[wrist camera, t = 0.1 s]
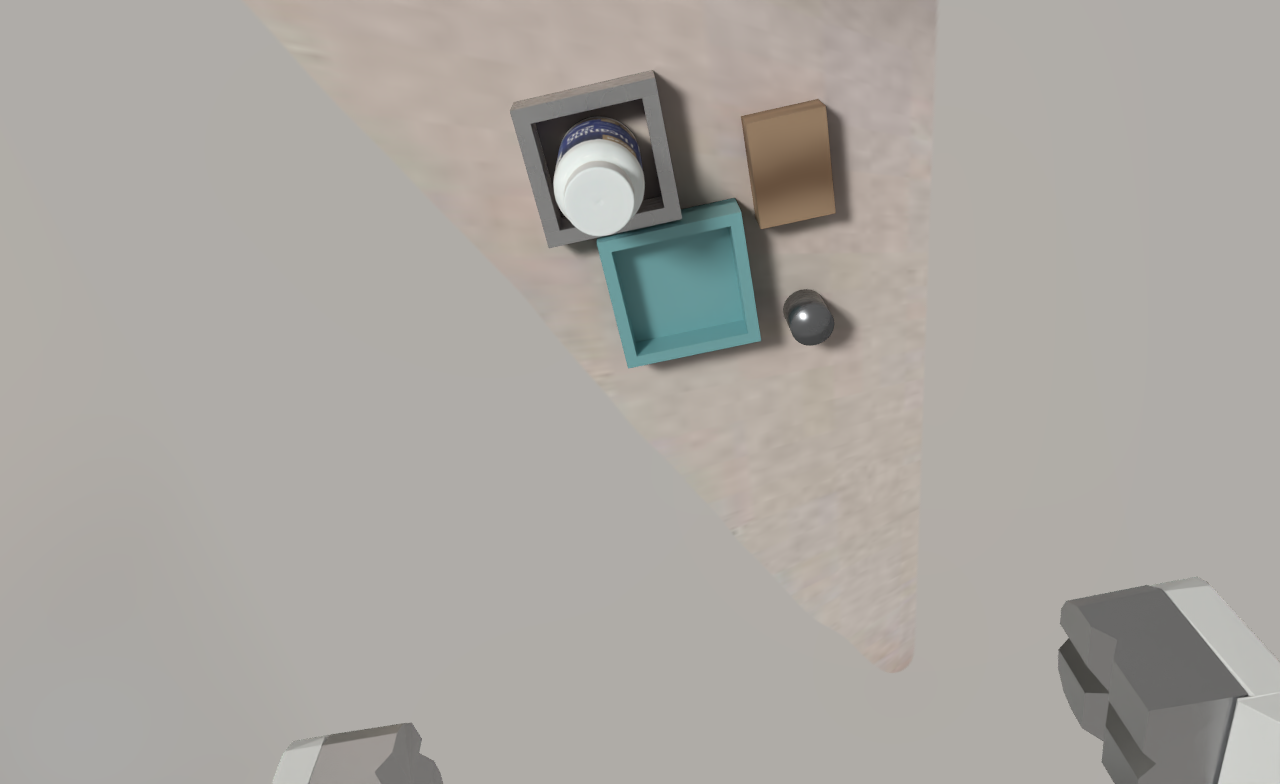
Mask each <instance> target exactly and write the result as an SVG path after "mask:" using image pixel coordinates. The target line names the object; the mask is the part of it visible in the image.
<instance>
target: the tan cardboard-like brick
mask: <svg viewBox="0 0 1280 784" xmlns="http://www.w3.org/2000/svg"><path fill="white" fill-rule="evenodd" d="M741 120H742V127H743V134H744V141H745V148H746V154H747V161H748V168H749V175H750V182H751V189H752V196H753V203H754V210H755V217H756V220H757V222H758V224H759V226H760V228H761V229H765V228H769V227H774V226H779V225H783V224H788V223H793V222H797V221H802V220H807V219H811V218H816V217H820V216H825V215H830V214H834V213H836V212H835V201H834V190H833V179H832V168H831V157H830V146H829V135H828V124H827V113H826V106H825V105H824V104H823V103H822V102H821V101H819V100H818V99H816V100H812V101H807V102H803V103H798V104H794V105H789V106H785V107H780V108H776V109H771V110H767V111H763V112H758V113H754V114H749V115H745V116H741Z"/></svg>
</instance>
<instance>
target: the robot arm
mask: <svg viewBox="0 0 1280 784" xmlns="http://www.w3.org/2000/svg"><path fill="white" fill-rule="evenodd" d="M1060 624H1061V626H1062V627H1063V629H1064V630H1065V632H1066V634H1067V635H1068V637H1069V638H1068V640H1067V641H1066V642H1065V643H1064V644H1063V645H1062V646H1061V647H1060V649H1059V655H1058V658H1059V659H1058V669H1059V674H1060V678H1061V682H1062V686H1063V691H1064V693H1065V696H1066V698H1067V700H1068V703H1069V705H1070V707H1071V709H1072V711H1073V713H1074V715H1075V717H1076V718H1077V720H1078V722H1079V724H1080V725H1081V727H1082V728H1083V729H1084V730H1086V731H1088V732H1089V733H1091V734H1093V735H1094V736H1096V737H1097V738H1099V739H1101V740H1102V741H1104V744H1103V755H1102V763H1103V765H1104V766H1105V768H1106V770H1107V771H1108V773H1109V775H1110V776H1111V778H1112V780H1113V782H1114V783H1115V784H1280V661H1279V660H1278V659H1277V658H1276V657H1275V656H1274V655H1273V653H1272V652H1271V651H1270V650H1269V649H1268V648H1267V647H1266V646H1265V645H1264V644H1263V642H1262V641H1261V640H1260V639H1259V638H1258V637H1257V636H1256V635H1255V634H1254V633H1253V631H1252V630H1251V629H1250V628H1249V627H1248V626H1247V625H1246V624H1245V623H1244V622H1243V620H1242V619H1240V617H1239V616H1238V615H1237V614H1236V613H1235V612H1234V611H1233V609H1231V607H1230V606H1229V605H1228V604H1227V603H1226V602H1225V601H1224V600H1223V599H1222V597H1221V596H1220V595H1219V594H1218V593H1217V592H1216V591H1215V590H1214V589H1213V588H1212V586H1211V585H1210V584H1209V583H1208V582H1206V581H1204V580H1202V579H1201V578H1198V577H1193V578H1188V579H1183V580H1177V581H1171V582H1166V583H1160V584H1155V585H1152V586H1148V585H1145V586H1140V587H1135V588H1130V589H1125V590H1120V591H1115V592H1110V593H1105V594H1099V595H1094V596H1090V597H1085V598H1079V599H1074V600H1070V601H1066V602H1065V604H1064V605H1063V607H1062V608H1061V620H1060ZM421 741H422V738H421V737H420V735H419V734H418V732H417V730H416V729H415V727H414V725H413V724H412V723H403V724H396V725H390V726H383V727H377V728H371V729H364V730H357V731H351V732H344V733H338V734H331V735H327V736H321V737H315V738H309V739H303V740H297V741H293V742H292V743H291V744H290V746H289V747H288V748H287V749H286V750H285V751H284V753H283V755H282V757H281V760H280V763H279V765H278V768H277V771H276V773H275V776H274V778H273V781H272V784H443V781H442V777H441V774H440V772H439V769H438V768H437V766H436V764H435V762H434V761H433V760H431V759H429V758H427V757H425V756H423V755H422V754H420V753H419V750H420V745H421Z"/></svg>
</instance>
